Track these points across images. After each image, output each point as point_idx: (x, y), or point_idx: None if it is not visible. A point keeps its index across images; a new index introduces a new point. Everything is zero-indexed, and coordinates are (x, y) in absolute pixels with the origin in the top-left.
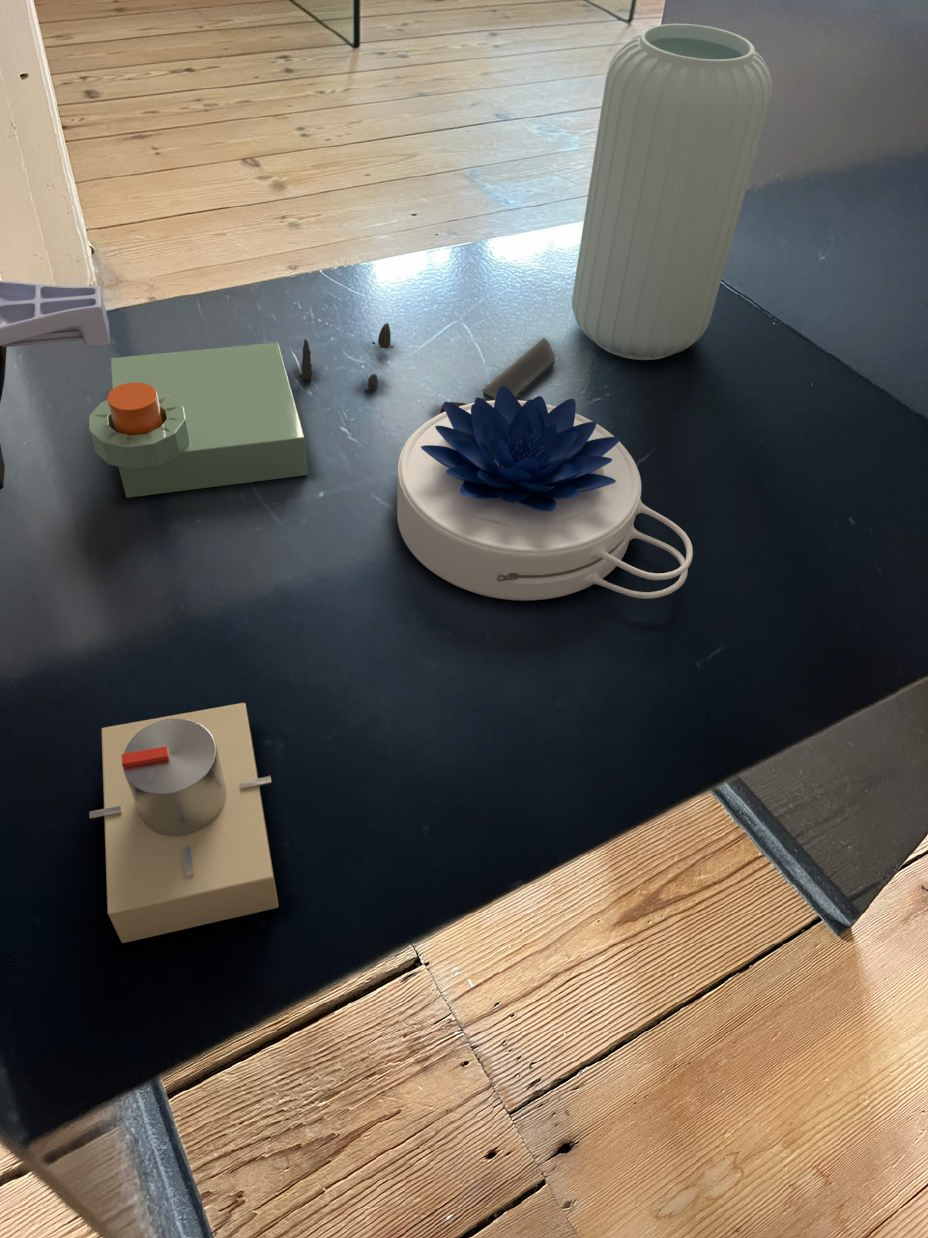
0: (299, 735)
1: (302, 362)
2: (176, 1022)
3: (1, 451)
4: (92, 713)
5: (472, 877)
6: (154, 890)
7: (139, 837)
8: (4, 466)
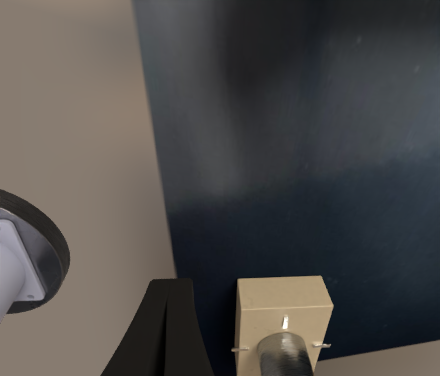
0: (348, 277)
1: None
2: None
3: (192, 294)
4: (225, 247)
5: (391, 343)
6: (259, 374)
7: (255, 358)
8: (192, 283)
